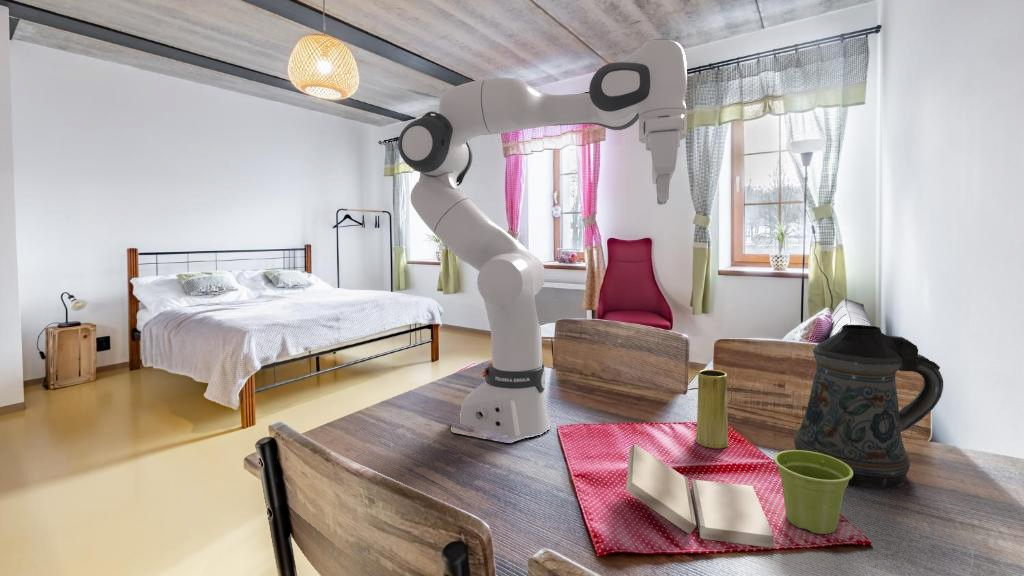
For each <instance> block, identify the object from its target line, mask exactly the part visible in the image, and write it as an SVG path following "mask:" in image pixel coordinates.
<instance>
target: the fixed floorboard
mask: <svg viewBox="0 0 1024 576" xmlns="http://www.w3.org/2000/svg"><path fill="white" fill-rule="evenodd" d="M691 495H692V501H693V506H694V512H695V515H696V516H695V518H696V523H697V525H698V526H697V527H698V531H699V533H698V534H699V538H700V539H701V540H702V539H703V540H709V541H718V542H725V543H733V544H740V545H747V546H754V547H760V548H761V547H762V548H770V549H774V548H775V547H774V545H775V542H774V539H775V538H774V536H775V535H774V533H773V531H772V529H771V526H770V524H769V522H768V519H767V517H766V515H765V512H764V510H763V508H762V504H761V502H760V500H759V498H758V496H757V494H756V490H755V489H754V486H753V485H747V484H741V483H740V484H738V483H730V482H728V483H727V482H721V481H720V482H718V481H709V480H699V479H695V478H691Z"/></svg>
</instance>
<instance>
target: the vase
mask: <svg viewBox="0 0 1024 576" xmlns="http://www.w3.org/2000/svg"><path fill="white" fill-rule="evenodd" d="M697 376H698V377H697V380H698V381H697V383H698V384H697V405H696V406H697V411H696V412H697V413H696V434H695V435H696V436H695V441H696V443H697V444H699V445H700V446H702V447H705V448H709V449H717V450H718V449H724V448H726V447H728V446H729V443H730V442H729V423H728V421H729V420H728V374H727V373H726V372H725V371H722V370H718V369H701V370H699V371H698V373H697Z"/></svg>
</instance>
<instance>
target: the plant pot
mask: <svg viewBox="0 0 1024 576" xmlns="http://www.w3.org/2000/svg"><path fill="white" fill-rule="evenodd" d="M773 461H774V463H775V465H776V466H777V470H778V473H779V474H780V480H781V485H782V486H781V487H782V493H783V494H782V495H783V499H784V500H783V501H784V508H785V509H784V510H785V516H786V519H787V521H788V522H789V523H791V524H792V525H793V526H795V527H797V528H798V529H806V530H808V531H809V532H811V533H813V534H820V535H825V534H826V535H828V534H832V533H834V532H835V531H836V529H837V527H838V523H839V520H840V515H841V509H842V505H843V500H844V499H843V498H844V495H845V491H846V488H847V487H848V486H849V485H848V482H849V480H850V479H851V478H852V477H853V471H852V469H851V468H850V467H849V466H848V465H847V464H846V463H844V462H842V461H840V460H838V459H836V458H834V457H831V456H828V455H824V454H821V453H816V452H811V451H803V450H796V449H789V450H783V451H780V452H777V453H776V454H775V455H774V457H773Z"/></svg>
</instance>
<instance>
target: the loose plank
mask: <svg viewBox="0 0 1024 576" xmlns="http://www.w3.org/2000/svg"><path fill="white" fill-rule="evenodd" d="M626 474H627V475H626V486H625V487H626V488H625V491H626V492H627V493H629V494H630V495H631V496H633V497H634V498H636V499H637V500H639V501H640V502H641V503H643V504H644V505H646V506H647V507H649V508H650V509H652V510H653V511H655V512H657V513H658V515H661V516H662V517H663V518H665V519H667V520H668V521H669V522H671V523H672V524H673V525H676V527H678V528H679V529H681V530H682V531H684V532H685V533H687V534H688V535H691V533H692V532H693V531H694V530H695V528H696V527H697V520H696V516H695V515H696V514H695V508H694V503H693V497H692V491H691V487H690V482H689V478H688V477H687V476H685V475H683V474H681V473H679V472H678V471H676V470H675V469H674V468H672V467H671V466H669V465H668V464H666V463H664V462H663V461H662V460H660V459H659V458H657V457H655V456H654V455H652V454H651V453H649V452H648V451H646V450H645V449H643V448H642V447H641V446H640V445H637V444H636V443H634V444H633V445H632V446H631V448H630V449H629V450H628V463H627V473H626Z"/></svg>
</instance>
